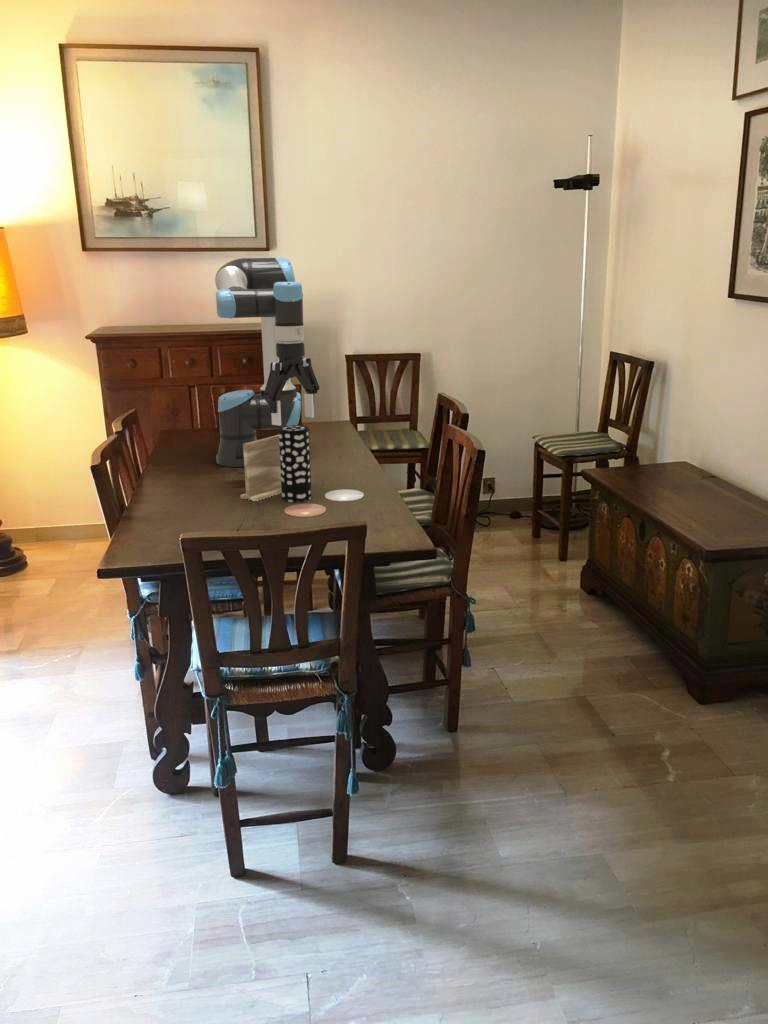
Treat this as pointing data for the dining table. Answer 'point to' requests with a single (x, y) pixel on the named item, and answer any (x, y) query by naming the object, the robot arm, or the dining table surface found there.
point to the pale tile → (344, 495)
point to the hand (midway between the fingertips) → (293, 421)
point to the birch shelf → (262, 468)
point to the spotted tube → (295, 463)
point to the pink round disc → (305, 510)
